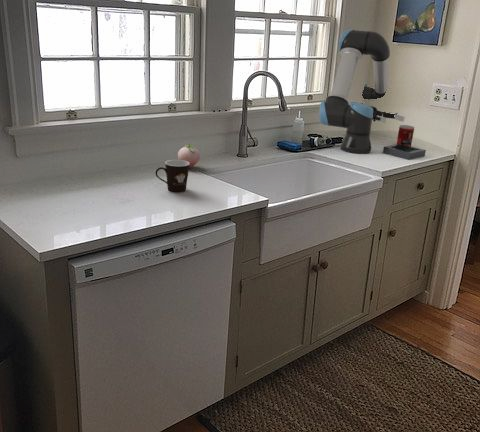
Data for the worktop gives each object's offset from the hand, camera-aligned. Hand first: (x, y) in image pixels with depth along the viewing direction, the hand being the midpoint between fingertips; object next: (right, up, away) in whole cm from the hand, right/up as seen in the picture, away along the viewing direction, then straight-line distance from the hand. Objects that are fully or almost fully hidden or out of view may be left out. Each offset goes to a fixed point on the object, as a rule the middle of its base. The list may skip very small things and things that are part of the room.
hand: (394, 119), depth 287 cm
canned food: (+4, -15, -4) cm, 16 cm away
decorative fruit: (-106, -33, -70) cm, 132 cm away
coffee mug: (-109, -43, -98) cm, 153 cm away
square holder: (-2, -22, -21) cm, 30 cm away
